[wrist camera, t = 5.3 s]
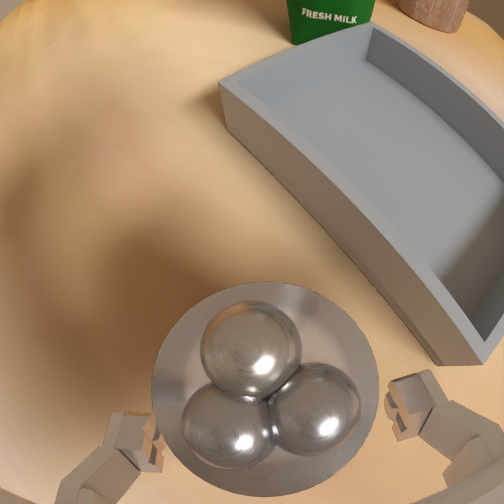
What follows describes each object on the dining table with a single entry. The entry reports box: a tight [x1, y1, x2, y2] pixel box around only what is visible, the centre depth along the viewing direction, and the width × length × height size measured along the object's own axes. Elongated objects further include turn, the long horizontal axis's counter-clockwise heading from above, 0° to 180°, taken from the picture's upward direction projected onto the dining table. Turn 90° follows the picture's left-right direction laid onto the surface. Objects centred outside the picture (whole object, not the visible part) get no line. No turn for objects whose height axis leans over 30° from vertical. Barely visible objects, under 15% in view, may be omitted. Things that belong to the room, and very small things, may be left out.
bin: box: [218, 22, 504, 366], centre depth 18 cm, size 22×16×5 cm
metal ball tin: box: [151, 282, 379, 497], centre depth 11 cm, size 5×5×12 cm
